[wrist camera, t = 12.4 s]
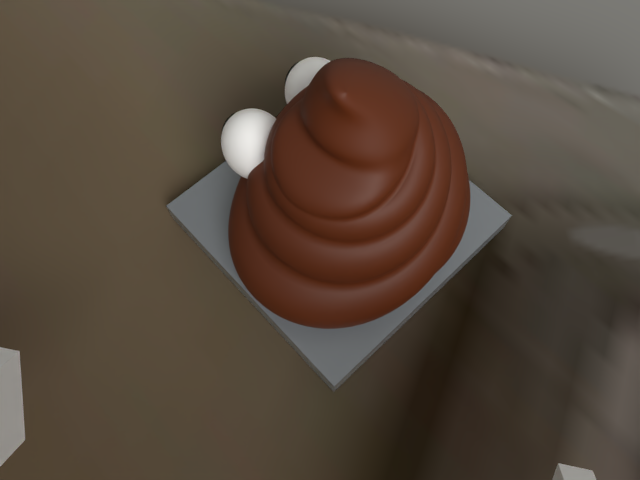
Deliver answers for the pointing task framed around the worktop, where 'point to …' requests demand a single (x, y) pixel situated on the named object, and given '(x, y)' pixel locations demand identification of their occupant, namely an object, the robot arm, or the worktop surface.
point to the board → (315, 343)
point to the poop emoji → (344, 194)
